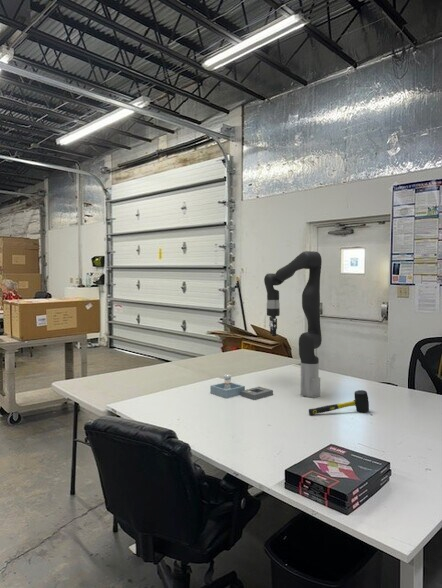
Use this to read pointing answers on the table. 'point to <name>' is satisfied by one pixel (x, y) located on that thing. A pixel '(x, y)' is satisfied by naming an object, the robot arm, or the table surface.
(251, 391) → the fuse block
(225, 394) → the parts tray
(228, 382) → the cylinder
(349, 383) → the table surface
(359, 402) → the mallet
